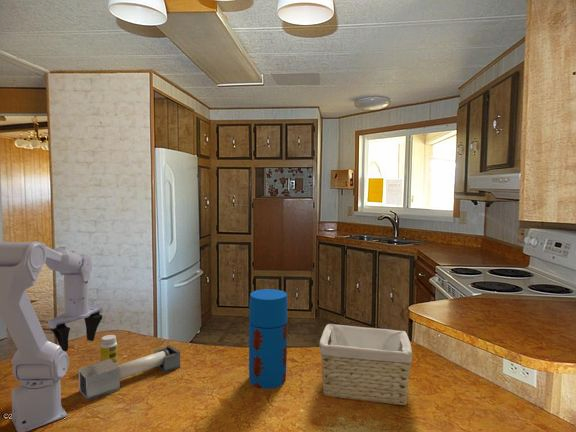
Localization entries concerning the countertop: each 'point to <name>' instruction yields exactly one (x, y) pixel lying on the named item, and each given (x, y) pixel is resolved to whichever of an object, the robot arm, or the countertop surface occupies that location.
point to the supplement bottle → (109, 348)
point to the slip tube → (142, 364)
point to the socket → (170, 359)
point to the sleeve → (99, 379)
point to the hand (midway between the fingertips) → (77, 345)
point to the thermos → (267, 338)
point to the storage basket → (365, 363)
